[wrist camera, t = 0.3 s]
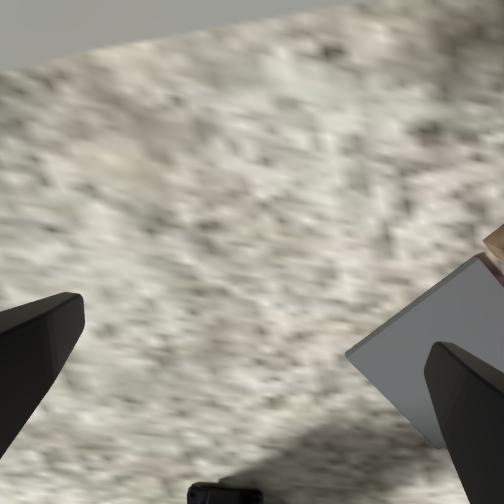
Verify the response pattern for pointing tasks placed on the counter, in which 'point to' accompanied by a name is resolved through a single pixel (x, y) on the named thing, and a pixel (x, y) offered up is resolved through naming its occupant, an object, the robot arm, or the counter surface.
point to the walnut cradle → (496, 243)
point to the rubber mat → (434, 340)
